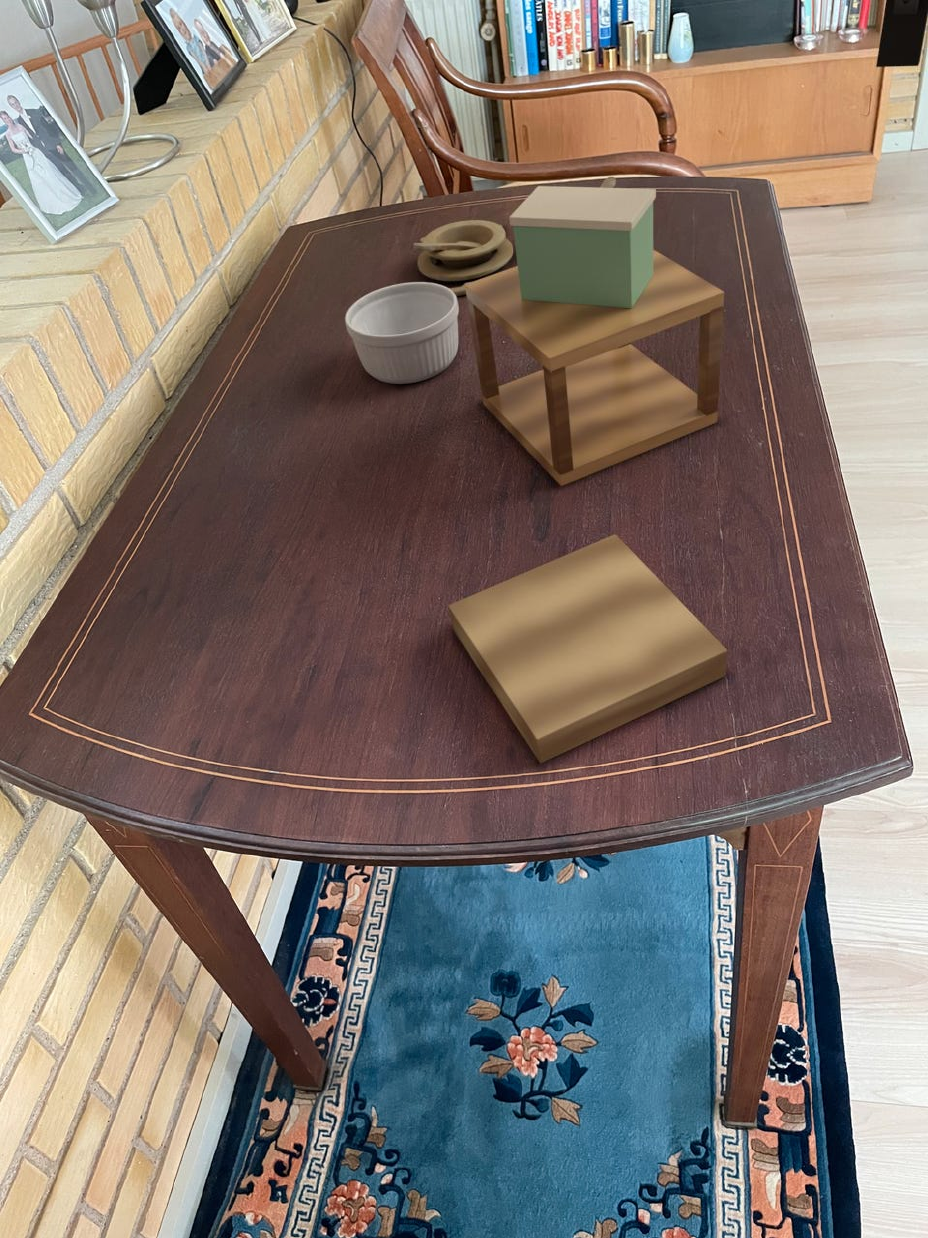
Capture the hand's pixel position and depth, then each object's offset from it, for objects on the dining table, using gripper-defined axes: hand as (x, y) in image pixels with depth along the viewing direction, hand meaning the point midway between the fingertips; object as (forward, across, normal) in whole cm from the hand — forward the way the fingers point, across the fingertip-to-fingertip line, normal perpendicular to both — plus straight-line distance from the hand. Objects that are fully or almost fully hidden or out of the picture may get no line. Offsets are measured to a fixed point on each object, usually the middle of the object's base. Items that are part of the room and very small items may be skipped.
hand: (911, 34), depth 68 cm
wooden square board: (+33, +38, -14) cm, 52 cm away
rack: (+33, +6, -24) cm, 41 cm away
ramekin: (+33, 0, -50) cm, 60 cm away
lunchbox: (+19, +6, -24) cm, 31 cm away
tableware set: (+33, -29, -47) cm, 65 cm away
